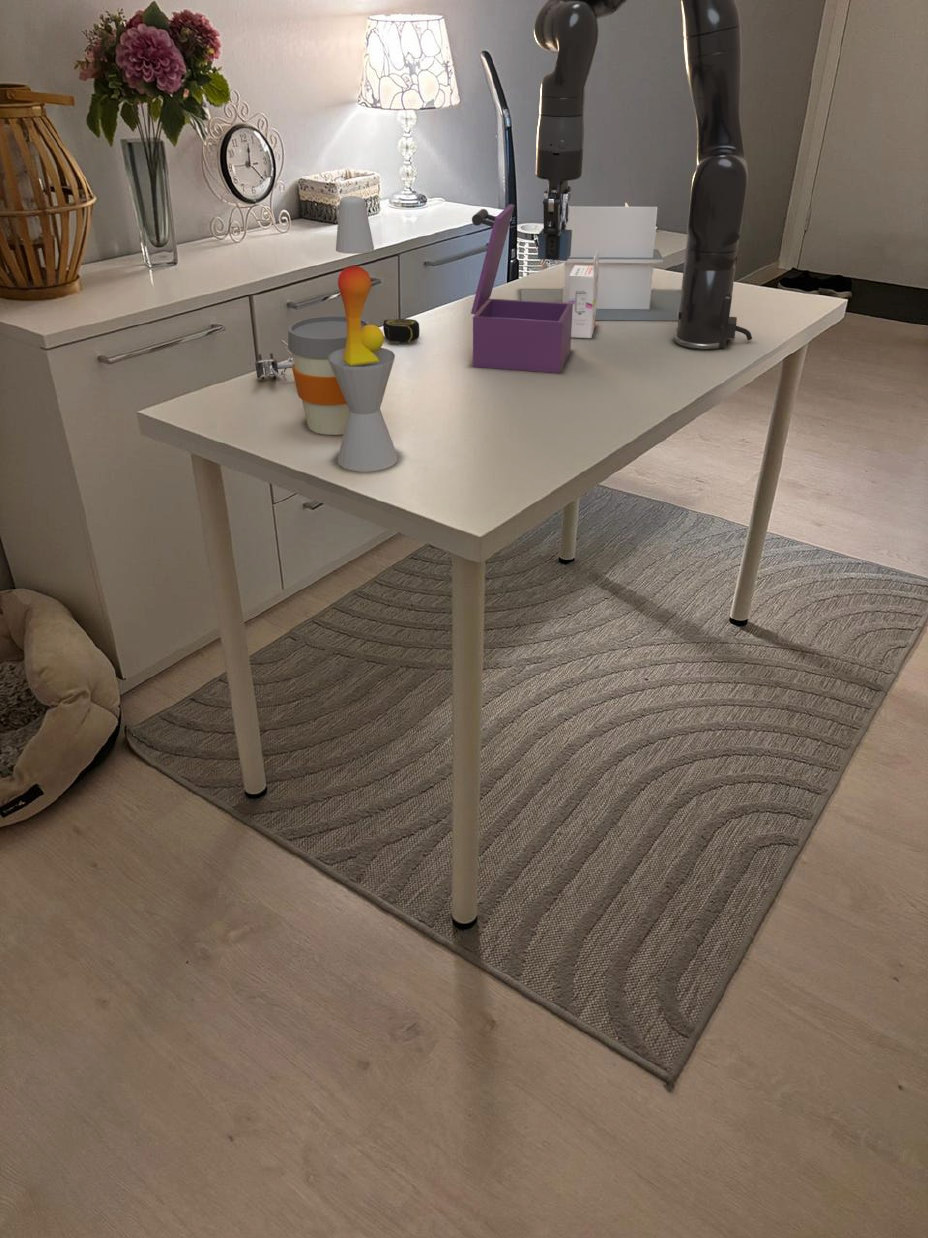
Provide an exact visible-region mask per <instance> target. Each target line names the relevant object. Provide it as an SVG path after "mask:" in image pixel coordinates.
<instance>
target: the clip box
mask: <svg viewBox="0 0 928 1238" xmlns="http://www.w3.org/2000/svg"><path fill="white" fill-rule="evenodd" d="M543 229H544V227H543V228H542V229H541V230H540V231H539V232H538V240H537V241H538V242H537V243H538V245H537V260H545V261H549V260H548V259H546V236H545V234H544V232H543ZM571 238H572V230H566V229H565V230H564V229H561V235H560V248H559V258H558V259H557V260H559V261H567V260H568V258H569V257H570V255H571Z"/></svg>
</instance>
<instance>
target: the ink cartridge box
mask: <svg viewBox="0 0 928 1238" xmlns="http://www.w3.org/2000/svg"><path fill="white" fill-rule="evenodd" d="M596 260H597V263H596ZM593 264H594V266H581V265H575V266H574V268H573V270H572V271H571V273H570V275H569V303H573V310H572V329H571V338H575V339H577V338H578V339H592V337H593V334H594V330H595V327H596V320H595V319H596V305H597V290H598V275H599V251H597V253H596V255H595V257H594V259H593Z"/></svg>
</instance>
